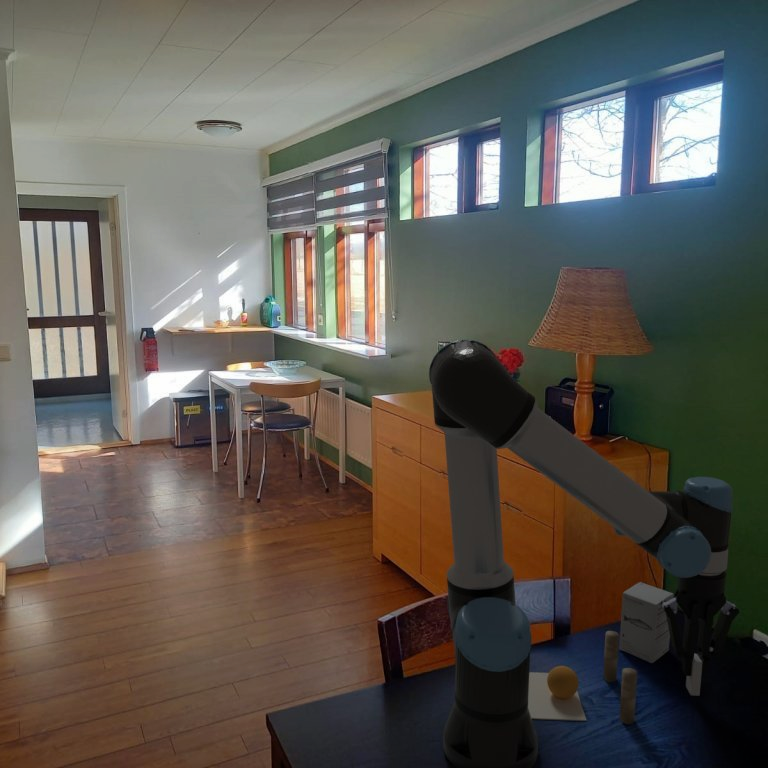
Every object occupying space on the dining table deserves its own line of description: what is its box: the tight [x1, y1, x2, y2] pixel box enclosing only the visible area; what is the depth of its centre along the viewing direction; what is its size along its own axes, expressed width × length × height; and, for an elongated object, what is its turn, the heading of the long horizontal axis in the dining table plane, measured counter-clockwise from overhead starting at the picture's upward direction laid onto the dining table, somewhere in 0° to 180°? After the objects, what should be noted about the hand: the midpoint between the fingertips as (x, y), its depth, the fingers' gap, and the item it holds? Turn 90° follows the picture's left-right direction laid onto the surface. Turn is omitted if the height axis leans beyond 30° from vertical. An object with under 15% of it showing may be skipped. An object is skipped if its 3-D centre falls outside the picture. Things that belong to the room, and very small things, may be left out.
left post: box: [602, 630, 620, 683], centre depth 138 cm, size 2×2×9 cm
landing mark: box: [528, 671, 587, 722], centre depth 134 cm, size 14×14×1 cm
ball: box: [547, 665, 580, 699], centre depth 133 cm, size 6×6×6 cm
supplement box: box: [618, 581, 675, 664], centre depth 148 cm, size 7×7×13 cm
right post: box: [619, 667, 638, 725], centre depth 126 cm, size 2×2×9 cm
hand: (692, 690), depth 132 cm, fingers closed
